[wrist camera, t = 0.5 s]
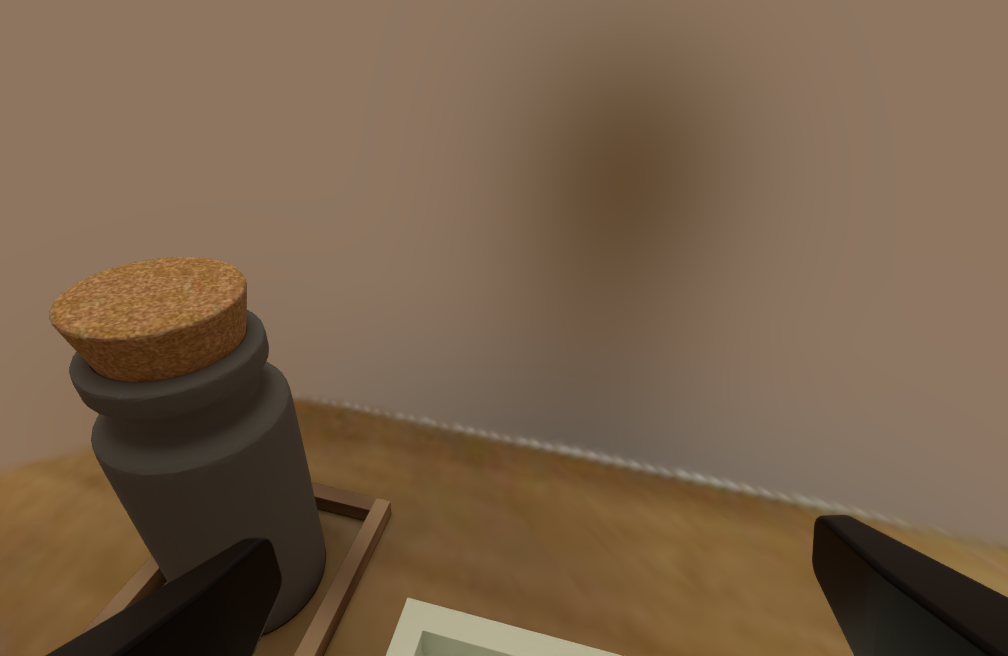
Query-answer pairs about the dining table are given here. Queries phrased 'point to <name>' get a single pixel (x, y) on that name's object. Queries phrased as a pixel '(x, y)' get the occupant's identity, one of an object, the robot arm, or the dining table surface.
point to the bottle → (193, 418)
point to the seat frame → (339, 591)
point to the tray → (472, 636)
